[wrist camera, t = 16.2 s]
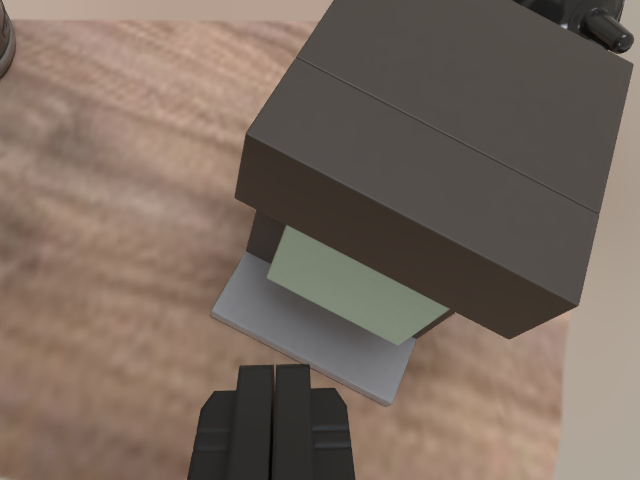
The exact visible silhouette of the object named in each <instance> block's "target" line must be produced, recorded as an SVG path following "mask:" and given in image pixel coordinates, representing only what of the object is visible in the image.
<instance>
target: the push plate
mask: <svg viewBox="0 0 640 480" xmlns="http://www.w3.org/2000/svg"><path fill="white" fill-rule="evenodd" d="M267 279H269V280H271V281H273V282H275V283H277V284H279V285H281V286H283V287H285V288H287V289H289V290H291V291H293V292H295V293H297V294H298V295H300V296H302V297H304V298H306V299H308V300H310V301H312V302H314V303H316V304H318V305H320V306H322V307H324V308H326V309H328V310H330V311H331V312H333V313H335V314H337V315H339V316H341V317H343V318H345V319H347V320H349V321H351V322H353V323H355V324H357V325H359V326H361V327H363V328H364V329H366V330H368V331H370V332H372V333H374V334H376V335H378V336H380V337H382V338H384V339H386V340H388V341H390V342H392V343H394V344H396V345H400V344H401V343H403V342H404V341H406V340H407V339H408V338H410V337H411V336H413V335H414V334H415V333H417V332H418V331H420V330H421V329H422V328H424V327H425V326H427V325H428V324H430V323H431V322H432V321H434V320H435V319H437V318H438V317H439V316H441V315H442V314H444V313H445V312H446V311H448V310H449V308H447V307H445V306H443V305H441V304H439V303H437V302H435V301H433V300H431V299H429V298H427V297H425V296H423V295H421V294H419V293H418V292H416V291H414V290H412V289H410V288H408V287H406V286H404V285H402V284H400V283H398V282H396V281H394V280H392V279H390V278H388V277H387V276H385V275H383V274H381V273H379V272H377V271H375V270H373V269H371V268H369V267H367V266H365V265H363V264H361V263H359V262H357V261H356V260H354V259H352V258H350V257H348V256H346V255H344V254H342V253H340V252H338V251H336V250H334V249H332V248H330V247H328V246H326V245H325V244H323V243H321V242H319V241H317V240H315V239H313V238H311V237H309V236H307V235H305V234H303V233H301V232H299V231H297V230H295V229H294V228H292V227H290V226H288V225H286V227H285V230H284V233H283V235H282V238H281V240H280V243H279V246H278V248H277V251H276V253H275V256H274V259H273V261H272V264H271V267H270V269H269V272H268V274H267Z"/></svg>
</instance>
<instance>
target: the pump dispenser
mask: <svg viewBox="0 0 640 480" xmlns="http://www.w3.org/2000/svg"><path fill="white" fill-rule="evenodd" d="M512 1H514V2H516V3H517V4H519V5H521V6H523V7H525V8H527V9H529V10H531V11H533V12H535V13H537V14H539V15H541V16H542V17H544V18H546V19H548V20H550V21H552V22H554V23H556V24H558V25H560V26H562V27H564V28H565V29H567V30H569V31H571V32H573V33H575V34H577V35H579V36H581V37H583V38H585V39H587V40H588V41H590V42H592V43H594V44H596V45H598V46H600V47H602V48H604V49H606V50H610V51H612V52H614V53H616V54H621V53H624V52H626V51H627V50H629V49H630V47H631V46H632V44H633V42H634V37H633V35H632V34H631V33H630V32H629V31H628V30H627V29H626V28H624V27H623V26H622V25H621V24H620V23H619V21H620V18H621V15H622V11H623V6H624V1H625V0H512Z"/></svg>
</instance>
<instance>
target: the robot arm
mask: <svg viewBox="0 0 640 480" xmlns="http://www.w3.org/2000/svg"><path fill="white" fill-rule="evenodd" d="M14 51H15V34H14V30H13V27H12V24H11V21H10V19H9V16H8V14H7V12H6V11H5V7H4V5H3V2H2V0H0V76H1V75H2V74H3V73H4V72H5V70H6V69H7V68H8V66H9V64H10V63H11V60H12V58H13V55H14ZM187 480H355V472H354V464H353V456H352V448H351V439H350V430H349V422H348V413H347V405H346V404H345V403H344V401H343V400H342V398H341V397H340V395H339V394H338V392H337V391H336V389H335V388H315V389H311V383H310V364H284V365H276V384H275V381H274V365H243V366H240V367H239V373H238V381H237V389H236V390H235V391H214V392H213V394H212V395H211V396H210V398H209V399H208V400H207V402H206V403H205V404H204V406H203V407H202V408H201V411H200V416H199V421H198V426H197V435H196V437H195V442H194V447H193V452H192V457H191V462H190V467H189V473H188V478H187Z"/></svg>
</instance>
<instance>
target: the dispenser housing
mask: <svg viewBox="0 0 640 480" xmlns="http://www.w3.org/2000/svg"><path fill="white" fill-rule="evenodd" d="M632 70H633V63H631V62H629V61H627V60H625V59H623V58H621V57H619V56H617V55H615V54H613V53H612V52H610V51H608V50H606V49H604V48H602V47H600V46H598V45H596V44H594V43H592V42H590V41H588V40H587V39H585V38H583V37H581V36H579V35H577V34H575V33H573V32H571V31H569V30H567V29H565V28H564V27H562V26H560V25H558V24H556V23H554V22H552V21H550V20H548V19H546V18H544V17H542V16H541V15H539V14H537V13H535V12H533V11H531V10H529V9H527V8H525V7H523V6H521V5H519V4H517V3H516V2H514V1H512V0H334V1H333V2H332V4H331V5H330V7H329V8H328V10H327V11H326V13H325V14H324V16H323V17H322V19H321V20H320V22H319V23H318V25H317V26H316V28H315V29H314V31H313V32H312V34H311V35H310V37H309V38H308V40H307V42H306V43H305V45H304V46H303V48H302V49H301V51H300V52H299V54H298V55H297V57H296V58H295V60H294V61H293V63H292V64H291V66H290V67H289V69H288V70H287V72H286V73H285V75H284V76H283V78H282V79H281V81H280V82H279V84H278V85H277V87H276V88H275V90H274V91H273V93H272V94H271V96H270V97H269V99H268V100H267V102H266V103H265V105H264V107H263V108H262V110H261V111H260V113H259V114H258V116H257V117H256V119H255V120H254V122H253V123H252V125H251V126H250V128H249V129H248V131H247V132H246V135H245V141H244V146H243V152H242V158H241V163H240V169H239V175H238V180H237V186H236V192H235V199H237V200H239V201H241V202H243V203H245V204H247V205H249V206H251V207H253V208H255V209H257V210H256V214H255V218H254V222H253V225H252V229H251V233H250V237H249V241H248V245H247V249H246V252H245V253H244V255H243V257H242V258H241V260H240V262H239V264H238V265H237V267H236V269H235V271H234V272H233V274H232V276H231V277H230V279H229V281H228V283H227V284H226V286H225V288H224V289H223V291H222V293H221V295H220V296H219V298H218V300H217V301H216V303H215V305H214V307H213V308H212V310H211V317H213V318H215V319H217V320H219V321H221V322H223V323H225V324H227V325H229V326H231V327H233V328H235V329H236V330H238V331H240V332H242V333H244V334H246V335H248V336H250V337H252V338H254V339H256V340H258V341H260V342H262V343H264V344H266V345H268V346H270V347H271V348H273V349H275V350H277V351H279V352H281V353H283V354H285V355H287V356H289V357H291V358H293V359H295V360H297V361H299V362H301V363H303V364H310V368H312V369H314V370H316V371H318V372H320V373H322V374H324V375H326V376H328V377H330V378H332V379H334V380H336V381H338V382H340V383H342V384H343V385H345V386H347V387H349V388H351V389H353V390H355V391H357V392H359V393H361V394H363V395H365V396H367V397H369V398H371V399H373V400H375V401H377V402H378V403H380V404H382V405H384V406H389V405H391V404H392V403H393V401H394V398H395V395H396V393H397V390H398V387H399V385H400V382H401V379H402V377H403V374H404V371H405V368H406V366H407V363H408V360H409V358H410V355H411V352H412V350H413V347H414V344H415V342H416V339H417V338H419V337H420V336H422V335H423V334H425V333H426V332H428V331H429V330H431V329H432V328H433V327H435V326H436V325H438V324H439V323H441V322H442V321H444V320H445V319H447V318H448V317H450V316H451V315H452V314H454V313H455V312H456V313H458V314H460V315H462V316H464V317H466V318H468V319H470V320H472V321H474V322H476V323H478V324H480V325H481V326H483V327H485V328H487V329H489V330H491V331H493V332H495V333H497V334H499V335H501V336H503V337H505V338H507V339H512V338H514V337H516V336H518V335H520V334H522V333H524V332H526V331H528V330H530V329H532V328H534V327H536V326H538V325H540V324H542V323H544V322H547V321H549V320H551V319H553V318H555V317H557V316H559V315H561V314H563V313H565V312H567V311H569V310H571V309H573V308H575V307H577V306H578V305H579V302H580V297H581V293H582V289H583V285H584V280H585V276H586V271H587V267H588V263H589V258H590V254H591V250H592V245H593V241H594V236H595V232H596V227H597V223H598V219H599V213H600V210H601V205H602V201H603V196H604V192H605V188H606V183H607V179H608V175H609V170H610V166H611V162H612V157H613V153H614V148H615V144H616V139H617V135H618V131H619V127H620V122H621V117H622V113H623V109H624V105H625V100H626V96H627V92H628V87H629V83H630V78H631V74H632ZM286 225H288V226H290V227H292V228H294V229H295V230H297V231H299V232H301V233H303V234H305V235H307V236H309V237H311V238H313V239H315V240H317V241H319V242H321V243H323V244H325V245H326V246H328V247H330V248H332V249H334V250H336V251H338V252H340V253H342V254H344V255H346V256H348V257H350V258H352V259H354V260H356V261H357V262H359V263H361V264H363V265H365V266H367V267H369V268H371V269H373V270H375V271H377V272H379V273H381V274H383V275H385V276H387V277H388V278H390V279H392V280H394V281H396V282H398V283H400V284H402V285H404V286H406V287H408V288H410V289H412V290H414V291H416V292H418V293H419V294H421V295H423V296H425V297H427V298H429V299H431V300H433V301H435V302H437V303H439V304H441V305H443V306H445V307H447V308H449V310H448V311H446V312H445V313H444V314H442V315H441V316H439V317H438V318H437V319H435V320H434V321H432V322H431V323H430V324H428V325H427V326H425V327H424V328H422V329H421V330H420V331H418V332H417V333H415V334H414V335H413V336H411V337H410V338H408V339H407V340H406V341H404V342H403V343H401V344H400V345H396V344H394V343H392V342H390V341H388V340H386V339H384V338H382V337H380V336H378V335H376V334H374V333H372V332H370V331H368V330H366V329H364V328H363V327H361V326H359V325H357V324H355V323H353V322H351V321H349V320H347V319H345V318H343V317H341V316H339V315H337V314H335V313H333V312H331V311H330V310H328V309H326V308H324V307H322V306H320V305H318V304H316V303H314V302H312V301H310V300H308V299H306V298H304V297H302V296H300V295H298V294H297V293H295V292H293V291H291V290H289V289H287V288H285V287H283V286H281V285H279V284H277V283H275V282H273V281H271V280H269V279H267V274H268V272H269V269H270V267H271V264H272V261H273V259H274V256H275V253H276V251H277V248H278V246H279V243H280V240H281V238H282V235H283V233H284V230H285V227H286Z"/></svg>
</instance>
